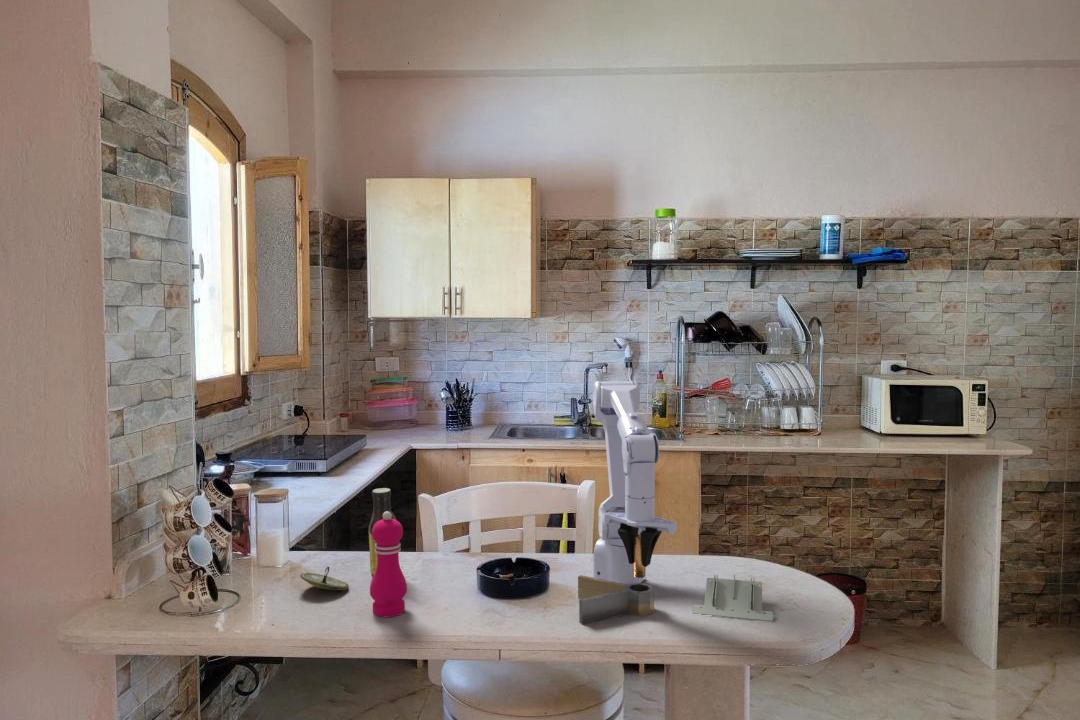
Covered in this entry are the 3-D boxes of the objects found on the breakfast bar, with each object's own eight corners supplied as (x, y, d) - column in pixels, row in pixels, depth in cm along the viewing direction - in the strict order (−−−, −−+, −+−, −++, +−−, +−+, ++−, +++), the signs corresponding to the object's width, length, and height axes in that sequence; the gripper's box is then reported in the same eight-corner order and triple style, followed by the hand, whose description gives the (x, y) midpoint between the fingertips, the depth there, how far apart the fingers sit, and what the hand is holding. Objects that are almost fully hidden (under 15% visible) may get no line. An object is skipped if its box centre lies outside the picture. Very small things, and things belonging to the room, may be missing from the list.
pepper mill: (413, 606, 161) (412, 508, 159) (395, 620, 154) (394, 517, 152) (382, 602, 163) (380, 505, 162) (363, 615, 156) (361, 514, 155)
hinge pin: (631, 576, 158) (631, 536, 157) (636, 573, 160) (636, 533, 159) (642, 578, 156) (642, 538, 156) (647, 575, 158) (647, 535, 158)
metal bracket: (697, 567, 168) (772, 573, 164) (698, 590, 170) (772, 596, 166) (691, 610, 155) (772, 618, 151) (692, 635, 157) (772, 643, 153)
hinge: (549, 616, 155) (549, 593, 155) (585, 593, 168) (585, 572, 168) (625, 634, 147) (625, 610, 147) (657, 608, 159) (657, 586, 159)
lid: (291, 589, 171) (291, 566, 170) (334, 578, 177) (334, 556, 177) (314, 603, 163) (313, 579, 163) (358, 591, 169) (357, 568, 169)
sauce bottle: (385, 571, 182) (384, 484, 181) (405, 576, 178) (403, 488, 177) (363, 579, 177) (361, 490, 175) (383, 585, 173) (381, 494, 172)
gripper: (597, 495, 157) (597, 563, 158) (666, 504, 150) (666, 576, 151) (613, 488, 163) (613, 553, 164) (680, 497, 156) (680, 565, 157)
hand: (639, 563), depth 158 cm, fingers closed on hinge pin, 2 cm apart
